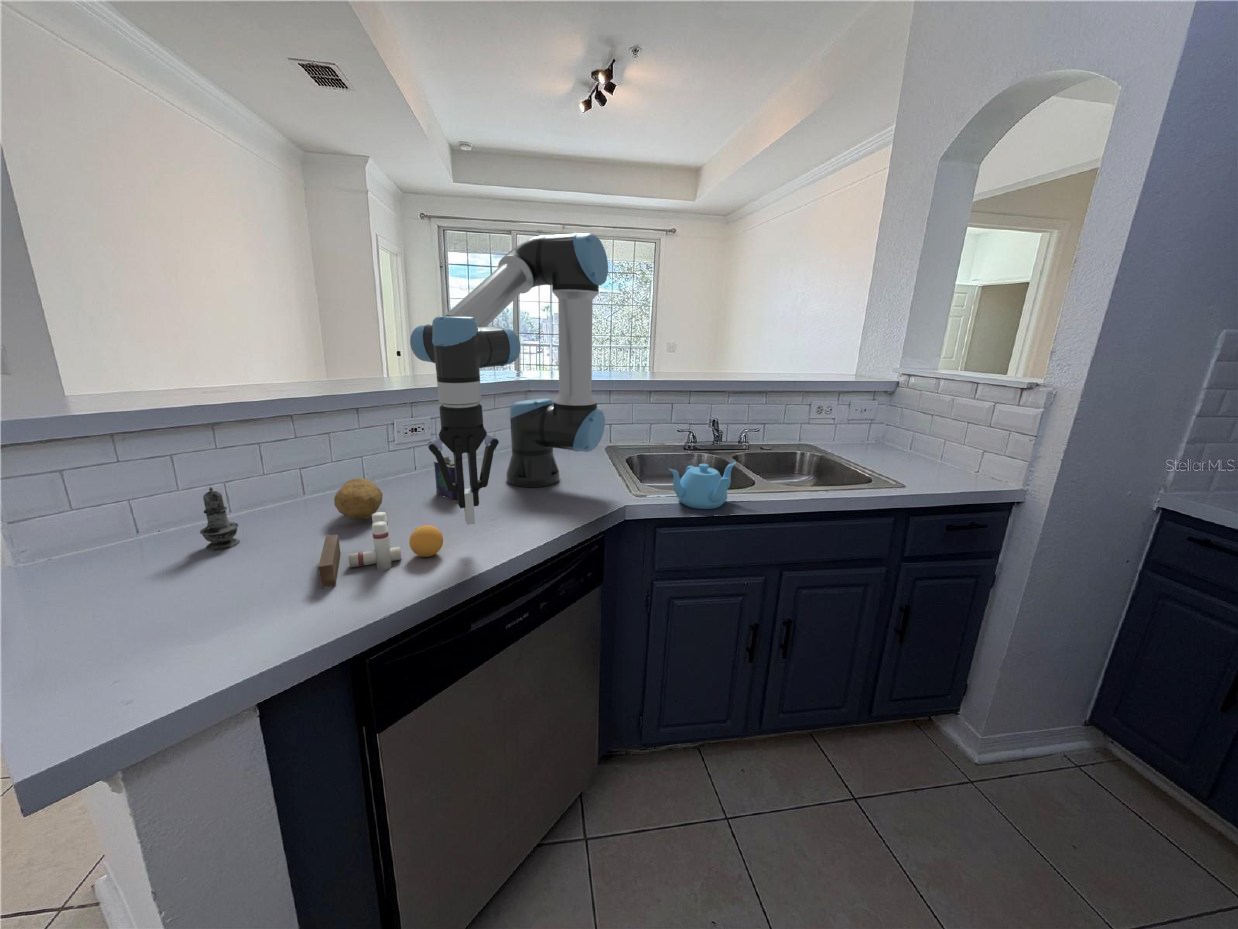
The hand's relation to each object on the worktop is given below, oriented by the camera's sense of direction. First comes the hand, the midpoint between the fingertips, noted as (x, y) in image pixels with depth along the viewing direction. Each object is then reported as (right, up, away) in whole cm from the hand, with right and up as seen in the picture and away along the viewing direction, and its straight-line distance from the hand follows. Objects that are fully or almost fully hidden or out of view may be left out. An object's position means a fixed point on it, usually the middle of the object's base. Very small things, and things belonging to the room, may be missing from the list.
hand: (470, 521), depth 96 cm
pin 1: (-15, -6, -3) cm, 17 cm away
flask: (-14, +3, +29) cm, 33 cm away
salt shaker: (-48, -5, -1) cm, 49 cm away
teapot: (+51, +1, +29) cm, 59 cm away
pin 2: (-13, -7, -8) cm, 17 cm away
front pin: (-12, -5, -5) cm, 14 cm away
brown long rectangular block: (-22, -8, -9) cm, 25 cm away
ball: (-7, -3, -4) cm, 9 cm away
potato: (-29, -1, +15) cm, 33 cm away
